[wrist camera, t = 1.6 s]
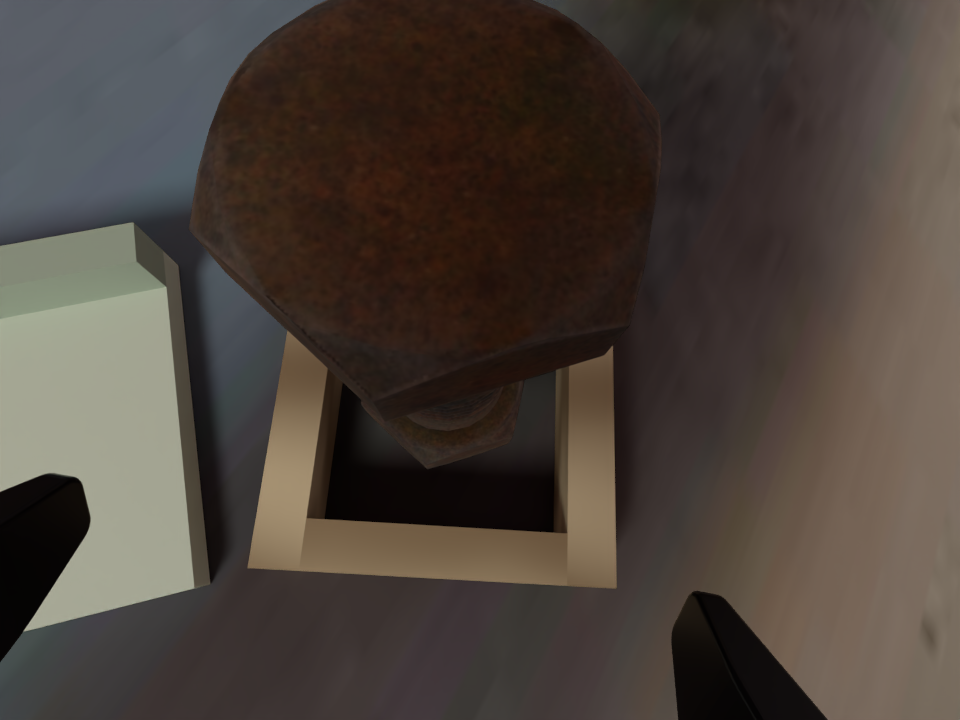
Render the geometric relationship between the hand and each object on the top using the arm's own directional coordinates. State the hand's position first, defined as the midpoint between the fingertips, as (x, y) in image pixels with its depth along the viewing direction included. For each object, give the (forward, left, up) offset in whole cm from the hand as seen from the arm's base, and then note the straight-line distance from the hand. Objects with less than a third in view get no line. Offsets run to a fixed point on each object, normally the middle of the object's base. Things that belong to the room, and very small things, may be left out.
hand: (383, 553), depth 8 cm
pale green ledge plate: (+2, +13, -12) cm, 18 cm away
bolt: (+4, -1, -12) cm, 13 cm away
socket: (+4, -1, -12) cm, 12 cm away
